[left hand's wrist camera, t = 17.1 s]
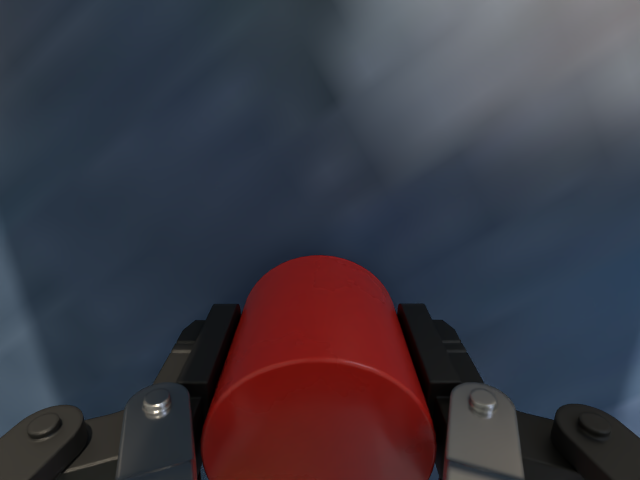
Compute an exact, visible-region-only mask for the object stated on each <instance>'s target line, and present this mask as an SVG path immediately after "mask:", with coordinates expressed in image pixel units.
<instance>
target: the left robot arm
mask: <svg viewBox="0 0 640 480" xmlns="http://www.w3.org/2000/svg"><path fill="white" fill-rule="evenodd" d="M240 317H241V311H240V306H239V304H214V305H213V306H212V308H211V310H210V312H209V314H208V317H207V319H206V320H195V321H194V322H193V323H191V324H190V325H189V326H188V327H186V328H185V329H184V330H183V331H182V333H181V335H180V336H179V338H178V340H177V344H175V345H174V347H173V349H172V352H171V353H170V354H169V356H168V358H167V360H166V362H165V363H164V365H163V367H162V369H161V370H160V372H159V374H158V376H157V378H156V379H155V381H154V383H153V385H151V386H148V387H146V388H144V389H142V390H140V391H139V392H137V393H136V394H135V395H133V396H132V397H131V398H130V400H129V401H128V402H127V404H126V406H125V409H124V410H122V411H119V412H117V413H113V414H109V415H105V416H101V417H97V418H92V419H88V420H84V417H83V414H82V412H81V410H80V409H78V408H77V407H74V406H71V405H58V406H53V407H49V408H45V409H43V410H40V411H38V412H36V413H34V414H32V415H30V416H28V417H26V418H25V419H23V420H22V421H21V422H19V423H18V424H17V425H16V426H14V427H13V428H12V429H11V430H10V431H8V432H7V433H6V434H5V435H3V436H2V437H1V438H0V480H202V479H201V472H200V468H201V465H202V457H201V442H200V439H201V433H202V428H203V425H204V422H205V419H206V416H207V413H208V410H209V407H210V404H211V401H212V399H213V396H214V393H215V390H216V387H217V384H218V381H219V378H220V375H221V372H222V370H223V367H224V364H225V361H226V358H227V355H228V352H229V349H230V346H231V343H232V340H233V338H234V335H235V332H236V329H237V326H238V323H239V320H240ZM397 317H398V320H399V323H400V326H401V329H402V332H403V335H404V338H405V340H406V343H407V346H408V349H409V352H410V355H411V358H412V361H413V364H414V367H415V370H416V373H417V376H418V379H419V382H420V385H421V388H422V391H423V394H424V397H425V400H426V403H427V406H428V409H429V412H430V415H431V418H432V421H433V424H434V428H435V432H436V440H437V450H436V459H435V464H436V467H437V470H438V473H439V479H438V480H640V438H639V437H638V436H637V435H635V434H634V433H633V432H632V431H630V430H629V429H628V428H627V427H626V426H624V425H623V424H622V423H621V422H619V421H618V420H617V419H615V418H614V417H612V416H611V415H609V414H607V413H605V412H603V411H601V410H599V409H597V408H594V407H591V406H587V405H582V404H567V405H563V406H561V407H560V408H559V409H558V410H557V412H556V415H555V418H554V420H552V419H547V418H543V417H539V416H535V415H530V414H526V413H523V412H519V411H517V410H516V409H515V406H514V404H513V402H512V401H511V400H510V398H509V397H508V396H507V395H505V394H504V393H503V392H501V391H500V390H498V389H496V388H494V387H492V386H489V385H486V384H484V382H483V380H482V378H481V377H480V375H479V373H478V371H477V369H476V368H475V366H474V364H473V362H472V360H471V358H470V357H469V355H468V353H466V349H465V348H464V346H463V344H462V343H461V340H460V339H459V337H458V335H457V333H456V331H455V330H454V329H453V328H452V327H451V326H449V325H448V324H447V323H446V322H444V321H443V320H432V319H431V317H430V315H429V313H428V310H427V308H426V306H425V305H424V304H399V305H398V311H397Z"/></svg>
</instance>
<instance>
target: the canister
mask: <svg viewBox="0 0 640 480" xmlns="http://www.w3.org/2000/svg"><path fill="white" fill-rule="evenodd" d="M200 442H201V457H202V462H203V466H204V469H205V472H206V475H207V477H208V479H209V480H429V477H430V475H431V473H432V471H433V467H434V463H435V459H436V450H437V440H436V432H435V428H434V424H433V421H432V418H431V415H430V412H429V409H428V406H427V403H426V400H425V397H424V394H423V391H422V388H421V385H420V382H419V379H418V376H417V373H416V370H415V367H414V364H413V361H412V358H411V355H410V352H409V349H408V346H407V343H406V340H405V338H404V335H403V332H402V329H401V326H400V323H399V320H398V317H397V314H396V311H395V308H394V305H393V302H392V300H391V297H390V295H389V293H388V292H387V290H386V288H385V287H384V285H383V284H382V283H381V282H380V281H379V280H378V278H376V277H375V276H374V275H373V274H372V273H371V272H369V271H368V270H366V269H365V268H363V267H362V266H360V265H358V264H356V263H354V262H351V261H349V260H346V259H343V258H338V257H334V256H324V255H314V256H305V257H299V258H296V259H292V260H289V261H287V262H284V263H282V264H280V265H278V266H277V267H275V268H273V269H272V270H270V271H269V272H268V273H266V274H265V275H264V276H263V277H262V278H261V279H260V280H259V281H258V282H257V283H256V284H255V286H254V287H253V289H252V290H251V292H250V294H249V296H248V297H247V300H246V303H245V306H244V309H243V311H242V314H241V317H240V320H239V323H238V326H237V329H236V332H235V335H234V338H233V340H232V343H231V346H230V349H229V352H228V355H227V358H226V361H225V364H224V367H223V370H222V372H221V375H220V378H219V381H218V384H217V387H216V390H215V393H214V396H213V399H212V401H211V404H210V407H209V410H208V413H207V416H206V419H205V422H204V425H203V428H202V433H201V439H200Z"/></svg>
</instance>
